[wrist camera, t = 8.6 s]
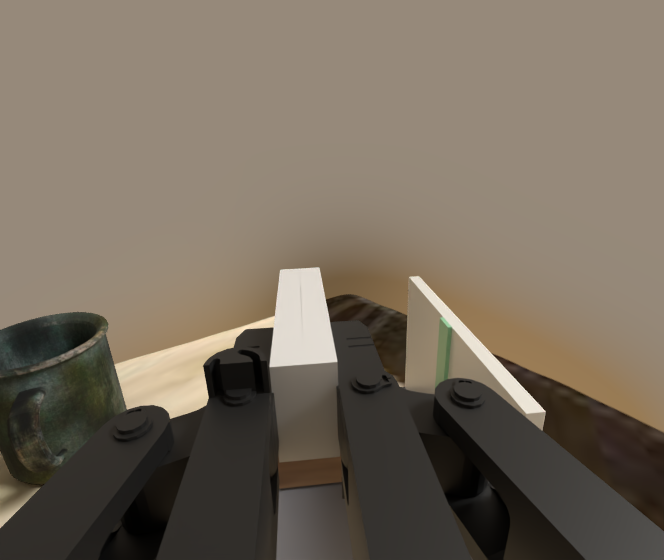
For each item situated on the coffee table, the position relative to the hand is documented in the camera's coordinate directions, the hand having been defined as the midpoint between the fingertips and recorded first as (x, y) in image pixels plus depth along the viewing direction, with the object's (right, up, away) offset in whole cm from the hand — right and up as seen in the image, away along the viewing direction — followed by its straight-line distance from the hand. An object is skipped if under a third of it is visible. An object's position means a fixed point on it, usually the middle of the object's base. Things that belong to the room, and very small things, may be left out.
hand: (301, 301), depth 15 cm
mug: (-24, -16, +21) cm, 36 cm away
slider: (0, -15, +17) cm, 23 cm away
